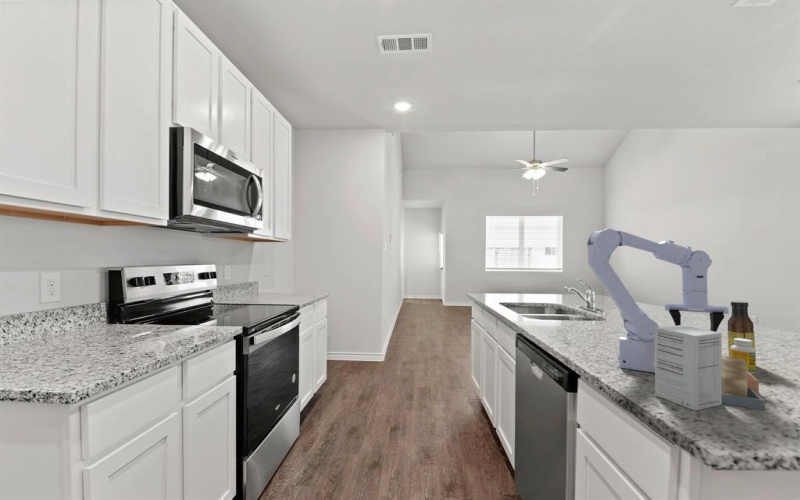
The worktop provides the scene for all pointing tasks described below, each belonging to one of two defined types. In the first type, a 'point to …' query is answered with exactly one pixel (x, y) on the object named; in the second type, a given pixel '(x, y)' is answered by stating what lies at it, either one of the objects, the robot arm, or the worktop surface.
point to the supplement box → (688, 366)
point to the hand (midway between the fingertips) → (695, 336)
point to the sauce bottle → (740, 324)
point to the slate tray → (745, 400)
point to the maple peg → (734, 376)
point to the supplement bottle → (745, 353)
